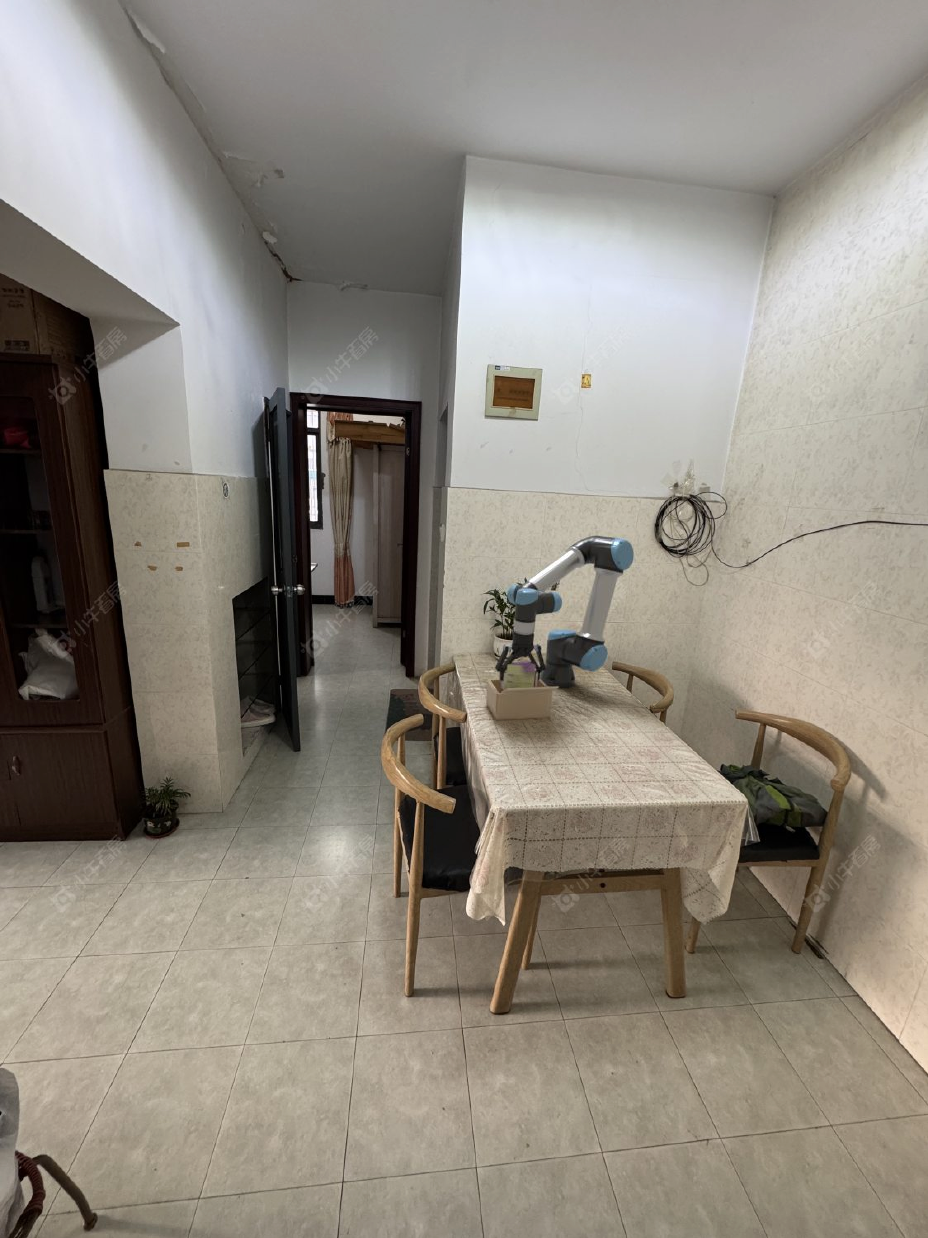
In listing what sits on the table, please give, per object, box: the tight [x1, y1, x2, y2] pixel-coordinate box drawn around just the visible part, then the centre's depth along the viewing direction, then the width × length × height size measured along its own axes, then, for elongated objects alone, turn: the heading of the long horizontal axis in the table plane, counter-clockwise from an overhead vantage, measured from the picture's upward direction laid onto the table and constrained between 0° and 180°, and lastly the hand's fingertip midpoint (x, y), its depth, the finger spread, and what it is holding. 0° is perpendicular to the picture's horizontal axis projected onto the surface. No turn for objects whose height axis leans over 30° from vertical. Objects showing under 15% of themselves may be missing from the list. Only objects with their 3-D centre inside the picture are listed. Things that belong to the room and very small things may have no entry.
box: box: [505, 659, 536, 689], centre depth 184 cm, size 10×6×12 cm, turn 84°
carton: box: [485, 678, 553, 721], centre depth 187 cm, size 21×14×10 cm
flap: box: [501, 686, 560, 694], centre depth 174 cm, size 19×8×1 cm
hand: (518, 688), depth 185 cm, fingers closed on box, 11 cm apart
